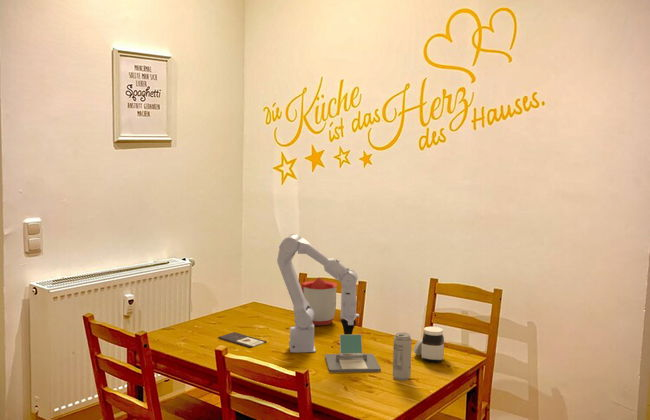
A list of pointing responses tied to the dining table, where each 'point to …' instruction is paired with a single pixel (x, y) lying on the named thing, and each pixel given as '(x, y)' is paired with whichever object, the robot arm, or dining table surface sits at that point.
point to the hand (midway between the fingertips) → (347, 338)
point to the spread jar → (431, 345)
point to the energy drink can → (402, 356)
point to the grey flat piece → (352, 363)
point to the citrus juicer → (321, 300)
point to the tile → (351, 344)
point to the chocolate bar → (242, 340)
